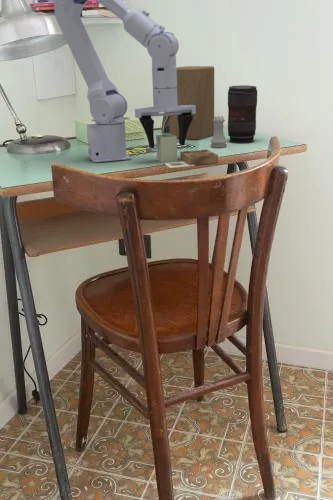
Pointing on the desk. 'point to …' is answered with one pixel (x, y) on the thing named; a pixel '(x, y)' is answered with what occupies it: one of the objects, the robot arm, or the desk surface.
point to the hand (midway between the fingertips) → (166, 146)
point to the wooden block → (195, 100)
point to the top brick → (166, 147)
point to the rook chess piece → (218, 133)
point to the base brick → (199, 157)
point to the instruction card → (177, 164)
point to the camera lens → (242, 113)
